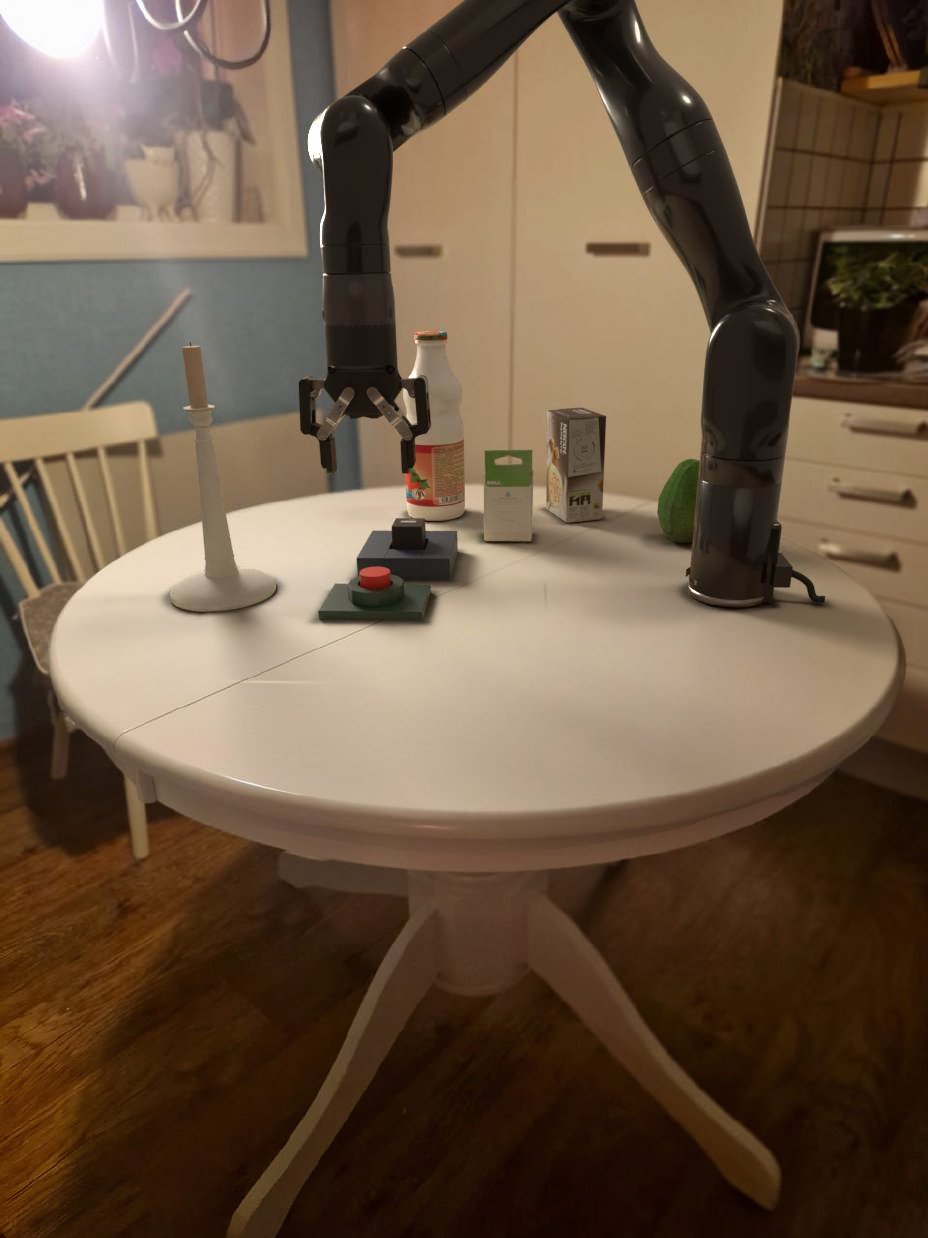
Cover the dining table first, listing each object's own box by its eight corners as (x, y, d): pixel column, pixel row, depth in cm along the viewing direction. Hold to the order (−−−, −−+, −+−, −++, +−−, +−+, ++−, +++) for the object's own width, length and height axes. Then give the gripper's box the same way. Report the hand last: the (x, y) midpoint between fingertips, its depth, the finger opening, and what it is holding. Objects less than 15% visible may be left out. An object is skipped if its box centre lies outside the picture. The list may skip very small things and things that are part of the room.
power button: (393, 580, 104) (392, 566, 103) (388, 591, 100) (387, 576, 100) (363, 580, 104) (362, 566, 103) (357, 590, 100) (356, 576, 100)
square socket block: (457, 551, 122) (457, 530, 121) (450, 580, 111) (449, 558, 110) (373, 550, 123) (372, 530, 121) (357, 579, 112) (356, 557, 110)
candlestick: (223, 619, 100) (186, 349, 88) (148, 599, 106) (104, 345, 95) (297, 585, 110) (272, 338, 98) (225, 569, 116) (194, 335, 105)
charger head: (426, 560, 118) (425, 517, 116) (423, 570, 115) (421, 525, 112) (397, 560, 119) (395, 517, 116) (393, 569, 115) (391, 525, 113)
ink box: (532, 534, 128) (533, 444, 123) (531, 542, 125) (533, 450, 119) (485, 534, 129) (485, 444, 124) (483, 542, 125) (482, 450, 120)
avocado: (722, 545, 122) (731, 460, 118) (678, 553, 119) (685, 467, 114) (686, 530, 129) (693, 450, 124) (643, 538, 126) (648, 456, 121)
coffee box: (604, 519, 135) (608, 415, 129) (566, 523, 133) (569, 418, 127) (579, 505, 143) (582, 406, 137) (543, 508, 141) (545, 409, 135)
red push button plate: (430, 593, 107) (430, 570, 106) (422, 621, 98) (421, 597, 97) (335, 592, 108) (333, 569, 106) (318, 620, 99) (316, 596, 98)
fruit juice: (464, 521, 135) (461, 334, 124) (404, 522, 135) (396, 334, 125) (466, 505, 144) (463, 328, 133) (409, 506, 144) (402, 329, 133)
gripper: (431, 316, 94) (435, 465, 100) (302, 318, 95) (314, 464, 101) (422, 321, 87) (427, 480, 93) (283, 323, 88) (298, 480, 94)
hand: (368, 472), depth 97 cm, fingers open, 8 cm apart
